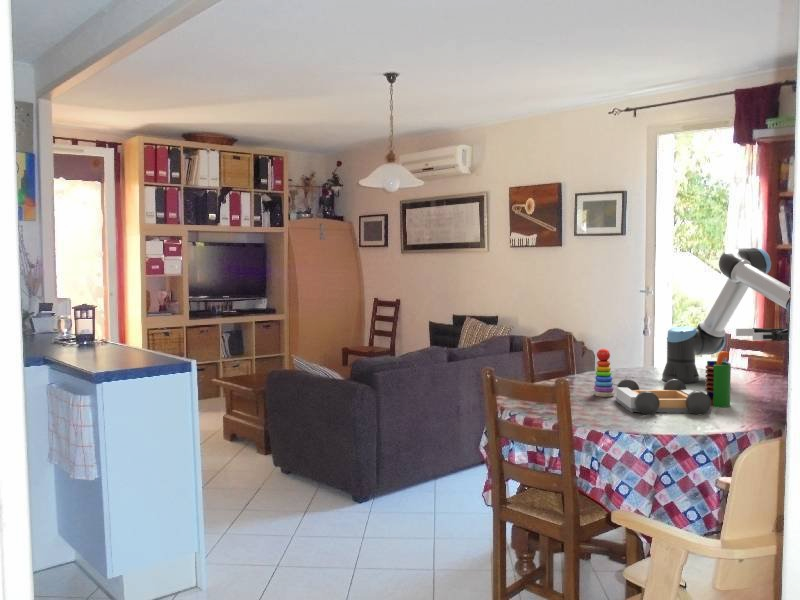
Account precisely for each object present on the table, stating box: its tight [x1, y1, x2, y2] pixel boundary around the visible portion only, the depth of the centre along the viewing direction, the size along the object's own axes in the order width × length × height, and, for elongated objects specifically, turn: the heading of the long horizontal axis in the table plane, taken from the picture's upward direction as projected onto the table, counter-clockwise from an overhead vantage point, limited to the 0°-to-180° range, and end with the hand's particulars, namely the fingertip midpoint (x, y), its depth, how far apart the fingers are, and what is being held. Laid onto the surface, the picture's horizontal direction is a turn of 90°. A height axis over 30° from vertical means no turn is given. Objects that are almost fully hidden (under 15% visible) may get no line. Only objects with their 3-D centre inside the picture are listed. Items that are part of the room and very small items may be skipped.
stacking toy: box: [593, 348, 615, 398], centre depth 284 cm, size 8×8×19 cm
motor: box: [704, 350, 732, 408], centre depth 267 cm, size 10×9×20 cm
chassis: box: [615, 378, 712, 415], centre depth 264 cm, size 25×28×8 cm
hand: (744, 334), depth 266 cm, fingers open, 13 cm apart
